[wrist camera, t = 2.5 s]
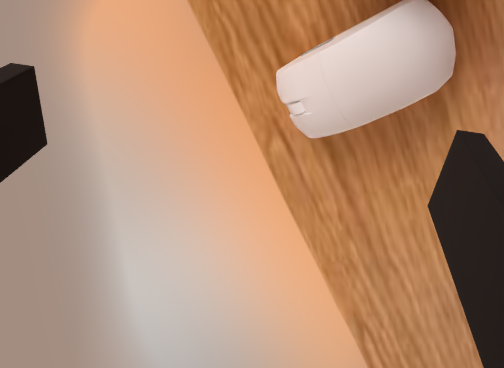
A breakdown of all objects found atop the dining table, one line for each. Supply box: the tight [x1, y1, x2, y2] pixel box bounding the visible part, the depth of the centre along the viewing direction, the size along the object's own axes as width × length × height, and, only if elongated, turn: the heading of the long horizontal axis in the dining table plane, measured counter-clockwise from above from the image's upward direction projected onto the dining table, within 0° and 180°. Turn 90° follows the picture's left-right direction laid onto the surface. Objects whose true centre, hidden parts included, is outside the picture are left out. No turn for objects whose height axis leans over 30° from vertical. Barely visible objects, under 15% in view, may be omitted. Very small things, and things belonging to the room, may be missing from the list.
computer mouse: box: [276, 0, 456, 138], centre depth 31 cm, size 6×13×6 cm, turn 121°
